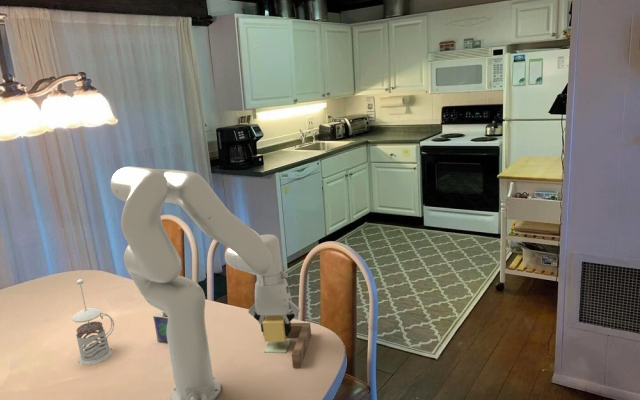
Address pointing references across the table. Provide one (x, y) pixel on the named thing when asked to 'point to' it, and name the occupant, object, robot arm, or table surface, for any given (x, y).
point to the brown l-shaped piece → (303, 335)
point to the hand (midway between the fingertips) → (276, 333)
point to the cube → (274, 329)
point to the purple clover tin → (161, 327)
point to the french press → (95, 350)
